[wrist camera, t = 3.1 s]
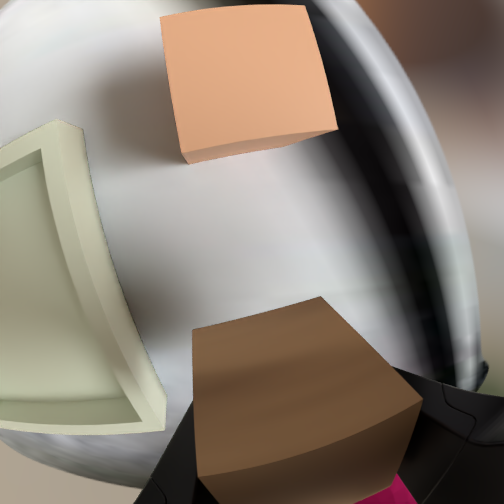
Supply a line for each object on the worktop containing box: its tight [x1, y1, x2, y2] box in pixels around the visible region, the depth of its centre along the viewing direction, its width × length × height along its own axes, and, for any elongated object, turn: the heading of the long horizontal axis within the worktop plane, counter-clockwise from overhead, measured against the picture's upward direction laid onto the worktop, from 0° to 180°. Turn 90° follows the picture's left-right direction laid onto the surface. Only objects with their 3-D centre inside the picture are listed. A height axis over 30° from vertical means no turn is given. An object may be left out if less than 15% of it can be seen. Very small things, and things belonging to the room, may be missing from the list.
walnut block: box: [192, 296, 423, 504], centre depth 7 cm, size 4×4×5 cm
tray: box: [0, 119, 167, 435], centre depth 9 cm, size 14×14×3 cm
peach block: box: [160, 5, 338, 164], centre depth 8 cm, size 4×4×5 cm
